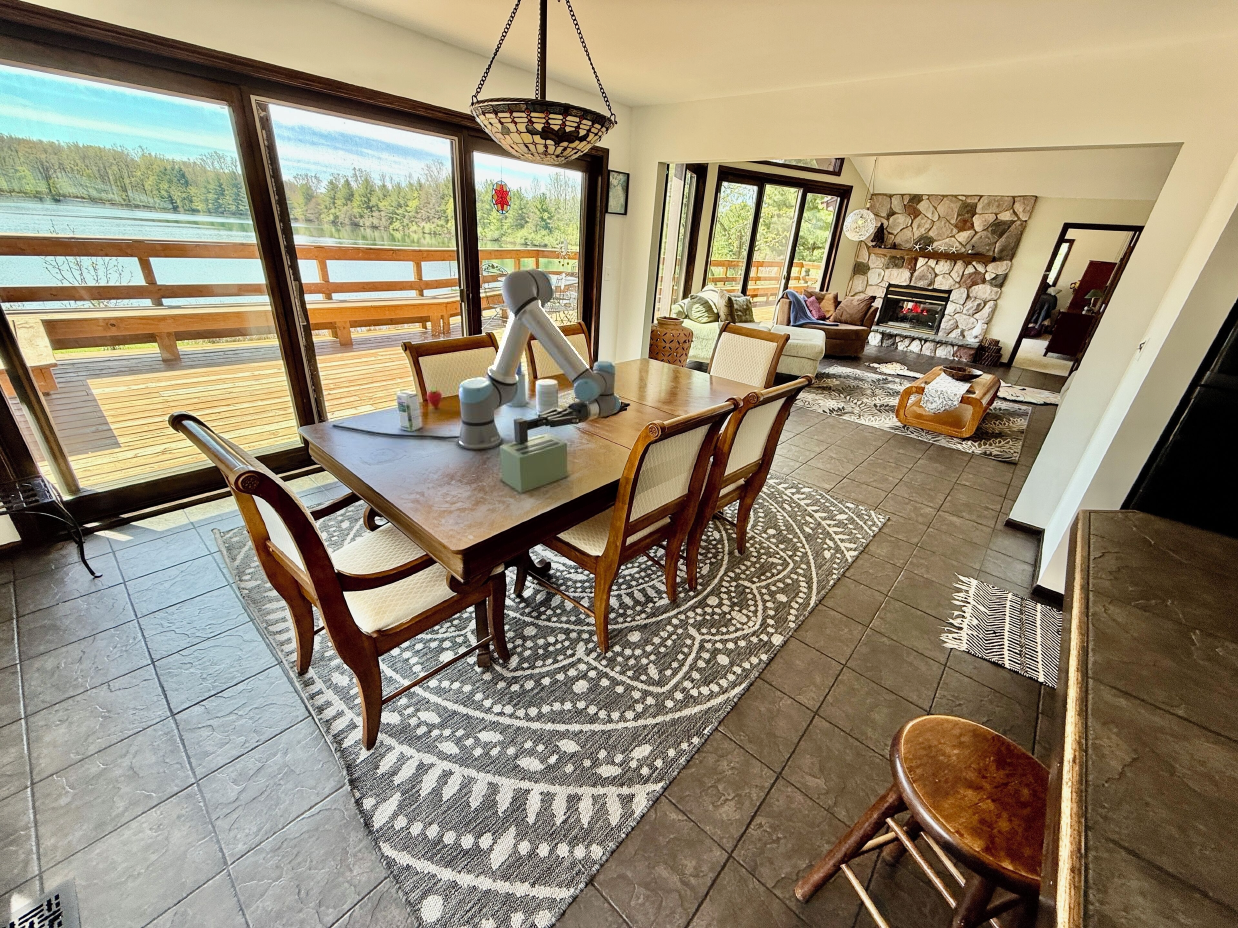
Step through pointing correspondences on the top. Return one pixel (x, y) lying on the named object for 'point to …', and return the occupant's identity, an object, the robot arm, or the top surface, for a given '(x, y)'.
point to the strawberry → (434, 397)
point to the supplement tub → (546, 395)
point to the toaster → (533, 462)
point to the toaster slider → (520, 430)
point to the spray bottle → (521, 395)
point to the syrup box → (408, 410)
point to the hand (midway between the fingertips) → (525, 425)
